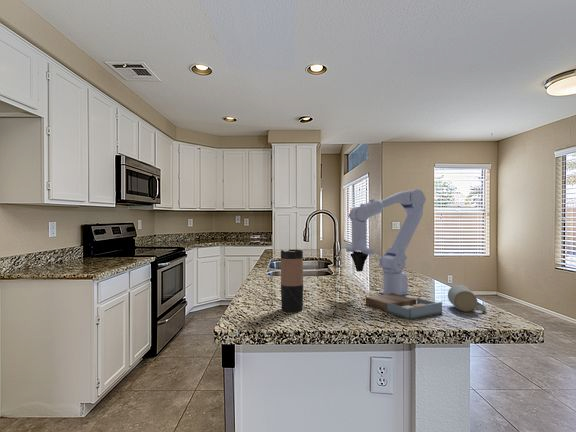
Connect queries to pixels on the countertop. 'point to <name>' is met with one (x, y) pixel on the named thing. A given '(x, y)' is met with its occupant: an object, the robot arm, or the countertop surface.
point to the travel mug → (292, 280)
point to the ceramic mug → (464, 299)
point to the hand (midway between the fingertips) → (359, 271)
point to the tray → (416, 309)
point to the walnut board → (389, 300)
